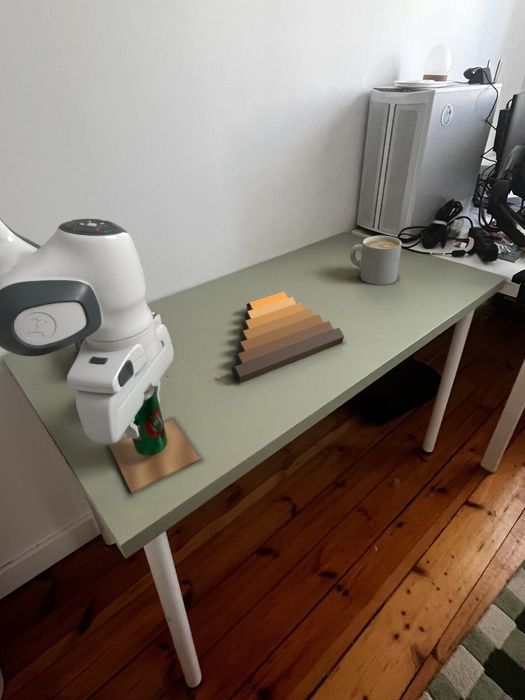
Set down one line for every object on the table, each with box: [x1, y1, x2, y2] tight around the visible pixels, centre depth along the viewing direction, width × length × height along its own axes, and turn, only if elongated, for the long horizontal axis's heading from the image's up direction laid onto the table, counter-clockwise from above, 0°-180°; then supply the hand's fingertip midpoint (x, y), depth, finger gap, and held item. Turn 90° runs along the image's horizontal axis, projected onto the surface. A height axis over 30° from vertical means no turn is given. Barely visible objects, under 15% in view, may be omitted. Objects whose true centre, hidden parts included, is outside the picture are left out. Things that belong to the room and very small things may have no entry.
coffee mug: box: [349, 235, 402, 286], centre depth 118 cm, size 13×10×10 cm
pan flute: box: [231, 291, 345, 384], centre depth 96 cm, size 25×3×25 cm
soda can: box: [132, 383, 168, 456], centre depth 65 cm, size 5×5×12 cm
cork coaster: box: [109, 418, 201, 494], centre depth 69 cm, size 11×11×1 cm
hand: (144, 419), depth 65 cm, fingers closed on soda can, 5 cm apart
